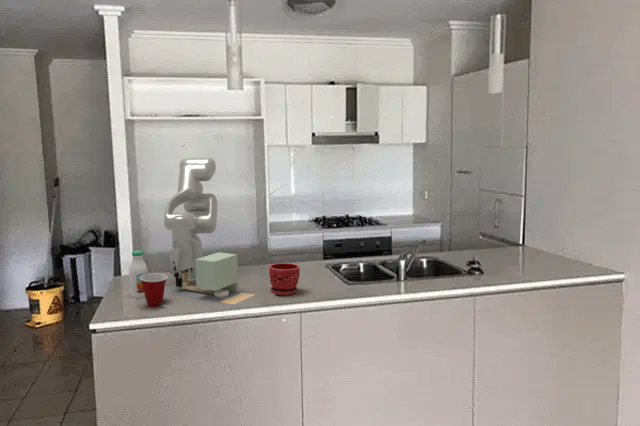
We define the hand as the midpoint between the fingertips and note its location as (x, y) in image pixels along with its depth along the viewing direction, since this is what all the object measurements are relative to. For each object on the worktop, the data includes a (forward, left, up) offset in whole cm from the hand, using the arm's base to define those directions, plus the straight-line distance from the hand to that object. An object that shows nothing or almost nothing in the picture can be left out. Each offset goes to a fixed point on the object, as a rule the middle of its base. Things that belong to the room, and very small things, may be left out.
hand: (183, 284), depth 236 cm
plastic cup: (+19, +3, -3) cm, 20 cm away
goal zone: (0, +30, -3) cm, 30 cm away
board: (0, +8, -3) cm, 9 cm away
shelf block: (0, +19, -3) cm, 20 cm away
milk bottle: (+14, -11, -3) cm, 19 cm away
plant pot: (-19, +41, -3) cm, 45 cm away
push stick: (0, +8, -1) cm, 8 cm away
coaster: (0, +21, -2) cm, 21 cm away
